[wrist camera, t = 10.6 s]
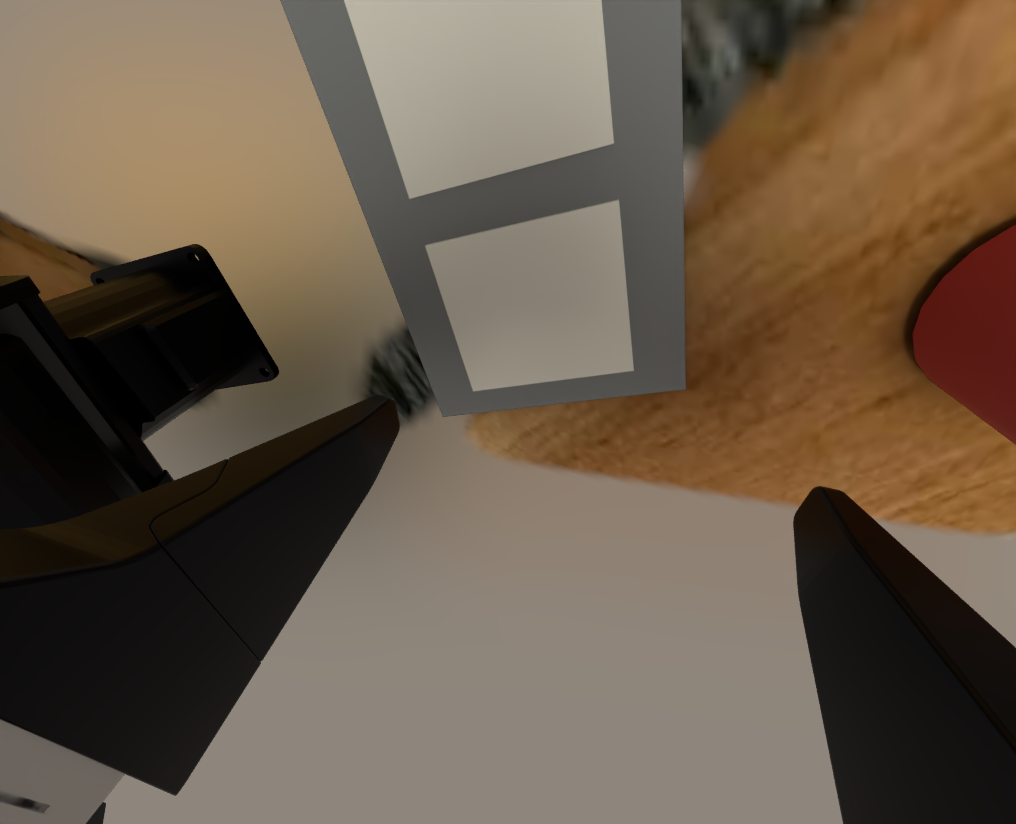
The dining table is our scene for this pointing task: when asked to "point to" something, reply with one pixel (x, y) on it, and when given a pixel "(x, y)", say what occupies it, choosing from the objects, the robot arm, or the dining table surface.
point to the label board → (516, 185)
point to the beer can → (975, 333)
